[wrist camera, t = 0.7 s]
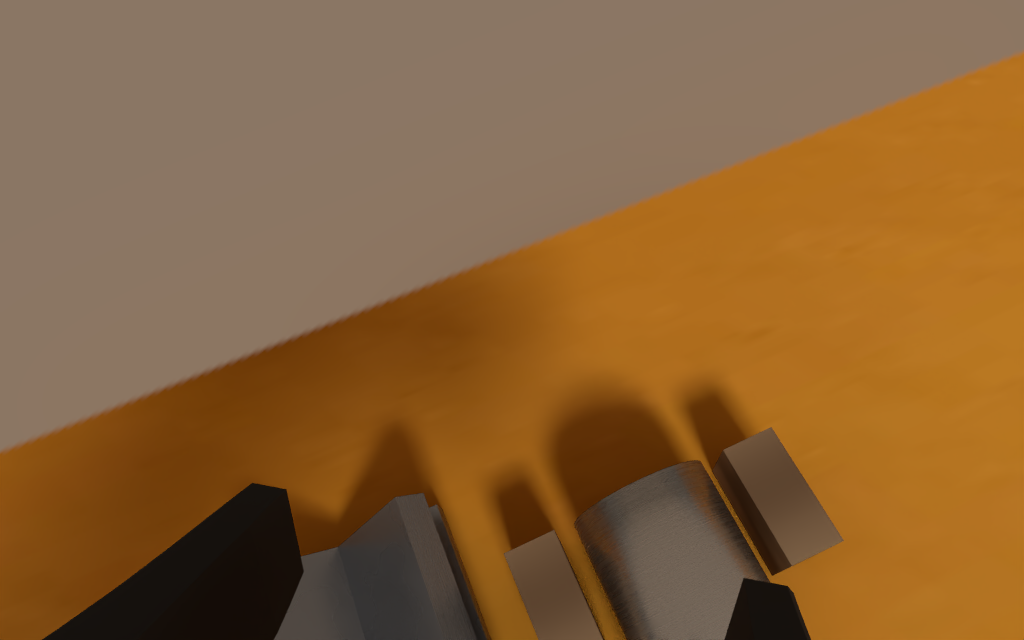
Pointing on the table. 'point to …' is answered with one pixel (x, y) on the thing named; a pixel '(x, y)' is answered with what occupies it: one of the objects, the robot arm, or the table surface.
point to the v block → (388, 583)
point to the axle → (669, 555)
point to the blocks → (754, 496)
